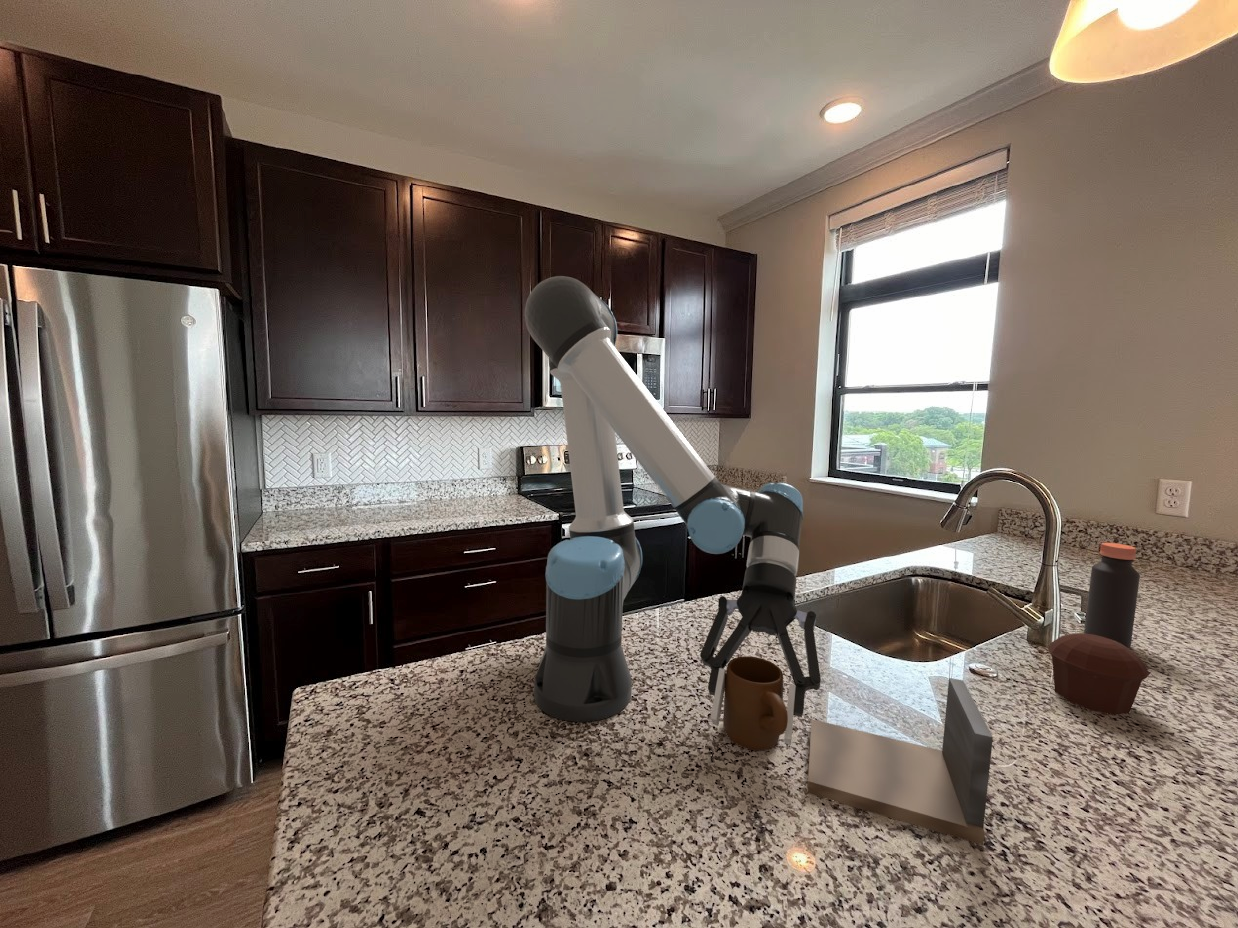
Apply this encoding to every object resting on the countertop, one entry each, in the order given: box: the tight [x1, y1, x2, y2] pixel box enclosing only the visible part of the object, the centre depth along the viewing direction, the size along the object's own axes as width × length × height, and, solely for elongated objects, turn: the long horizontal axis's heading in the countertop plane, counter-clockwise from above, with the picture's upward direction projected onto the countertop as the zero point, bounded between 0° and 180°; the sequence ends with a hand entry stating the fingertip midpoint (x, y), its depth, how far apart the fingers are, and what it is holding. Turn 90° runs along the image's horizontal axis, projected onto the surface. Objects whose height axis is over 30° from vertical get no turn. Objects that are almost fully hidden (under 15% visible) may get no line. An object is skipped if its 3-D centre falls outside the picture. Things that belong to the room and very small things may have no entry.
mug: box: [722, 655, 788, 751], centre depth 65 cm, size 12×8×9 cm, turn 10°
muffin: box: [1046, 632, 1151, 717], centre depth 78 cm, size 12×11×10 cm
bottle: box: [1083, 542, 1141, 649], centre depth 99 cm, size 7×7×20 cm
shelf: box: [807, 677, 994, 846], centre depth 60 cm, size 17×13×12 cm
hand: (750, 731), depth 63 cm, fingers closed on mug, 8 cm apart
